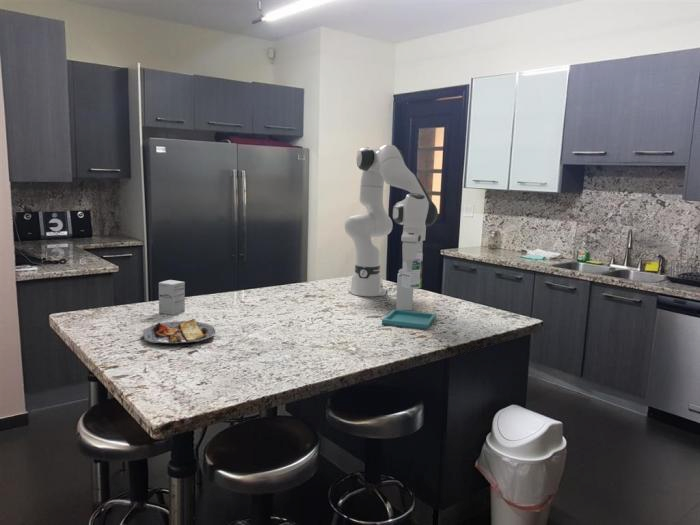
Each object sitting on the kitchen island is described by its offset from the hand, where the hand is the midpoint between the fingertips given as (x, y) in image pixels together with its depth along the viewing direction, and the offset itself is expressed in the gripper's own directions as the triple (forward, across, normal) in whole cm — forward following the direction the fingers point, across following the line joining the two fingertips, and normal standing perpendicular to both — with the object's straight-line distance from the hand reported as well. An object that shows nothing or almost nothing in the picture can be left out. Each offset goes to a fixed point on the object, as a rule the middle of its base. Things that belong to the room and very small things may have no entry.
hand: (412, 270), depth 211 cm
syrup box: (+7, 0, 0) cm, 7 cm away
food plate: (+22, +55, -69) cm, 91 cm away
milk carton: (+21, -20, -7) cm, 30 cm away
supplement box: (+21, +30, -91) cm, 98 cm away
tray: (+21, 0, 0) cm, 21 cm away
